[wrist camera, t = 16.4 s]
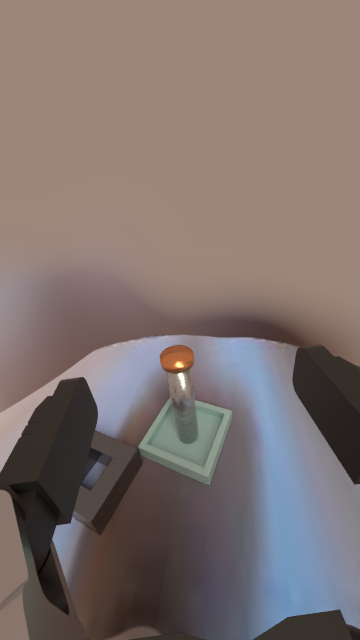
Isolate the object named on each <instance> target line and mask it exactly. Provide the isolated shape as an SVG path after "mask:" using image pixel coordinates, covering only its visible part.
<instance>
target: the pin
mask: <svg viewBox="0 0 360 640" xmlns="http://www.w3.org/2000/svg"><path fill="white" fill-rule="evenodd" d="M160 362H161V366H162V368H163V370H165V371H166V374H167V379H168V385H169V390H170V396H171V401H172V407H173V412H174V417H175V423H176V428H177V434H178V438H179V440H180V441H181V442H182V443H184V444H192V443H194V442H195V441H196V440H197V439H198V436H199V431H198V422H197V414H196V405H195V396H194V388H193V379H192V370H191V367H192V366H193V364H194V356H193V351H192V350H191V349H190V348H189V347H187V346H183V345H175V346H171V347H168V348H166V349H165V350H164V351H163V352H162V353H161V354H160Z"/></svg>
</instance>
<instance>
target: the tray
mask: <svg viewBox="0 0 360 640" xmlns="http://www.w3.org/2000/svg"><path fill="white" fill-rule="evenodd" d="M195 405H196V414H197V422H198V431H199V436H198V439H197V440H196V441H195V442H194V443H192V444H184V443H182V442H181V441H180V440H179V438H178V434H177V428H176V423H175V417H174V412H173V407H172V401H171V396H170V398H169V399H168V401H167V402H166V404H165V405H164V407H163V409H162V410H161V412H160V413H159V415H158V416H157V418H156V420H155V421H154V423H153V424H152V426H151V427H150V429H149V431H148V432H147V434H146V435H145V437H144V439H143V440H142V442H141V443H140V445H139V446H138V449H139V452H140V454H141V456H143V457H145V458H148V459H150V460H152V461H154V462H157V463H159V464H161V465H163V466H166V467H168V468H170V469H172V470H175V471H177V472H179V473H181V474H184V475H186V476H188V477H190V478H193V479H195V480H197V481H199V482H202V483H204V484H206V485H208V486H209V485H210V482H211V479H212V477H213V474H214V471H215V468H216V465H217V462H218V459H219V456H220V453H221V450H222V447H223V444H224V441H225V438H226V435H227V432H228V429H229V426H230V424H231V421H232V411H231V410H227V409H224V408H221V407H217V406H214V405H210V404H207V403H203V402H200V401H197V400H195Z"/></svg>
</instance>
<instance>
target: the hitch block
mask: <svg viewBox="0 0 360 640" xmlns="http://www.w3.org/2000/svg"><path fill="white" fill-rule="evenodd" d="M97 461H98V462H100V463H102V464H104V465H106V466H107V468H106V469H105V471H104V472H103V474H102V475H101V477H100V478H99V479H98V481H97V482H96V484H95V485H94V487H93V488H92V490H91V491H90V490H88V489H86V488H85V487H83V486H81V485H80V489H79V493H78V496H77V500H76V504H75V508H74V512H73V515H72V517H73V518H75V519H76V520H78V521H79V522H81V523H82V524H84V525H85V526H87V527H88V528H90V529H91V530H93V531H94V532H96V533H97V534H99V535H101V534H102V532H103V530H104V528H105V527H106V525H107V523H108V522H109V520H110V518H111V517H112V515H113V513H114V511H115V510H116V508H117V506H118V505H119V503H120V501H121V499H122V498H123V496H124V494H125V493H126V491H127V489H128V487H129V486H130V484H131V482H132V481H133V479H134V477H135V475H136V474H137V472H138V470H139V469H140V467H141V465H142V464H143V463H142V460H141V458H140V455H139V452H138V449H137V448H135V447H133V446H130V445H128V444H126V443H123V442H121V441H119V440H116V439H114V438H112V437H109V436H107V435H105V434H102V433H100V432H98V431H96V430H95V431H94V435H93V439H92V443H91V447H90V451H89V454H88V458H87V462H86V466H85V470H84V473H83V477H82V481H83V479H84V478H85V477H86V475H87V474H88V473H89V471H90V470H91V469H92V467H93V466H94V465H95V463H96V462H97ZM82 481H81V482H82Z"/></svg>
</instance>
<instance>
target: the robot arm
mask: <svg viewBox="0 0 360 640" xmlns="http://www.w3.org/2000/svg"><path fill="white" fill-rule="evenodd" d="M293 386H294V390H295V392H296V394H297V396H298V397H299V399H300V400H301V402H302V403H303V405H304V407H305V408H306V410H307V411H308V413H309V414H310V416H311V417H312V419H313V421H314V422H315V424H316V425H317V427H318V428H319V430H320V431H321V433H322V435H323V436H324V438H325V439H326V441H327V442H328V444H329V445H330V447H331V449H332V450H333V452H334V453H335V455H336V456H337V458H338V460H339V461H340V463H341V464H342V466H343V467H344V469H345V470H346V472H347V474H348V475H349V477H350V478H351V480H352V481H353V483H354V484H360V370H359V369H358V368H357V367H356V366H355V365H353V364H352V363H350V362H348V361H346V360H344V359H343V358H341V357H334V356H333V355H332V354H331V353H330V352H329V351H328V350H327V349H326V348H325V347H324V346H322V345H314V346H306V347H300V348H298V349H297V352H296V358H295V365H294V371H293ZM97 419H98V410H97V405H96V403H95V400H94V398H93V396H92V393H91V391H90V388H89V386H88V384H87V381H86V380H85V378H83V377H80V378H73V379H66V380H61V381H60V382H59V384H58V386H57V388H56V390H55V392H54V394H53V396H47V397H46V398H45V400H44V401H43V402H42V403H41V404H40V405H39V406H38V407H37V408H36V409H35V411H34V412H33V414H32V416H31V418H30V420H29V421H28V425H27V426H26V427H25V429H24V431H23V432H22V434H21V435H22V436H21V438H19V440H18V442H17V443H16V445H15V447H14V449H13V451H12V452H11V454H10V456H9V458H8V460H7V462H6V463H5V465H4V467H3V469H2V471H1V473H0V640H89V637H88V635H87V633H86V631H85V629H84V627H83V626H82V624H81V622H80V620H79V618H78V616H77V614H76V611H75V608H74V605H73V602H72V599H71V596H70V593H69V590H68V586H67V583H66V580H65V577H64V574H63V571H62V568H61V564H60V561H59V558H58V555H57V552H56V549H55V546H54V543H53V541H52V538H53V534H54V531H55V528H56V525H61V524H68V523H71V519H72V515H73V512H74V508H75V504H76V500H77V496H78V493H79V489H80V485H81V481H82V477H83V473H84V470H85V466H86V462H87V458H88V454H89V451H90V447H91V443H92V439H93V435H94V431H95V428H96V424H97ZM131 640H205V639H202V638H198V637H195V636H191V635H188V634H184V633H181V632H180V633H173V634H166V635H160V636H152V637H146V638H138V639H131ZM253 640H360V629H358V628H356V627H354V626H351V625H347V624H346V623H345V621H344V618H343V616H342V613H341V611H340V610H334V611H327V612H320V613H313V614H306V615H299V616H292V617H287V618H286V619H284V620H283V621H281V622H280V623H278V624H276V625H275V626H273V627H272V628H270V629H269V630H267V631H266V632H264V633H262V634H261V635H259V636H258V637H256V638H255V639H253Z"/></svg>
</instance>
